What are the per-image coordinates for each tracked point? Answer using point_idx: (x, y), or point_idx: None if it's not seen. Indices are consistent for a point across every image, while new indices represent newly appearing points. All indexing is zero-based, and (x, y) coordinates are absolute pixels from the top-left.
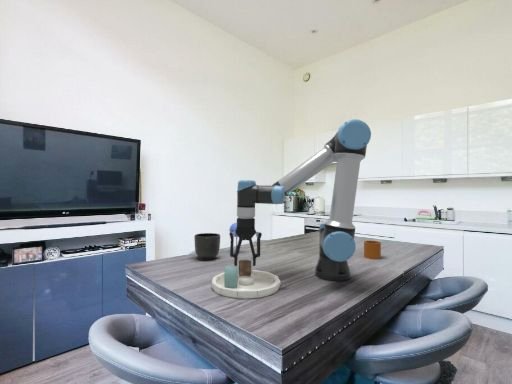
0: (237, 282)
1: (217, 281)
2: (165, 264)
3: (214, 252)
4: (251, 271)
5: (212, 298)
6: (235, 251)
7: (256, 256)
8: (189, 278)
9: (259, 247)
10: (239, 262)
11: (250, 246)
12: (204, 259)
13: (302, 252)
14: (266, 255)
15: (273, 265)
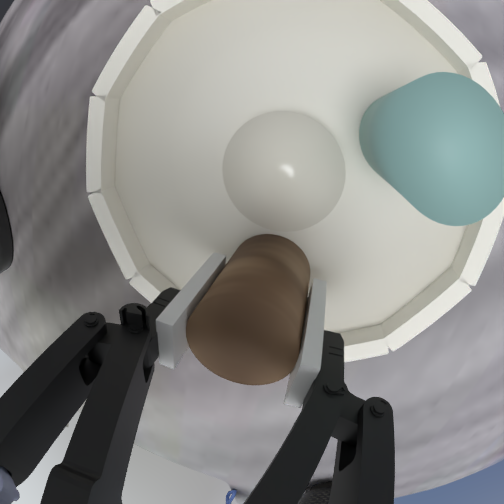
0: (366, 116)
1: (451, 257)
2: (466, 461)
3: (319, 500)
4: (215, 264)
5: (497, 50)
6: (235, 493)
7: (117, 330)
8: (500, 355)
9: (35, 370)
10: (298, 340)
11: (112, 434)
12: None
13: None
14: (148, 448)
15: None
